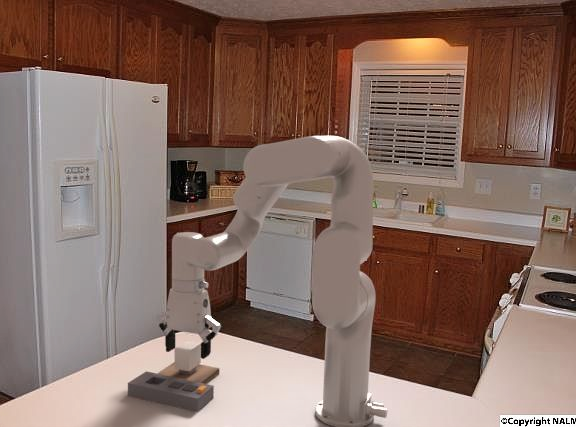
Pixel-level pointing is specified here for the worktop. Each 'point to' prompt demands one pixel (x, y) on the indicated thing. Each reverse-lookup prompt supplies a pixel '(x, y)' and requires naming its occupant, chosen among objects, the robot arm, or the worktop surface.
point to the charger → (187, 357)
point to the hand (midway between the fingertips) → (187, 353)
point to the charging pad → (200, 375)
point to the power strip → (171, 391)
